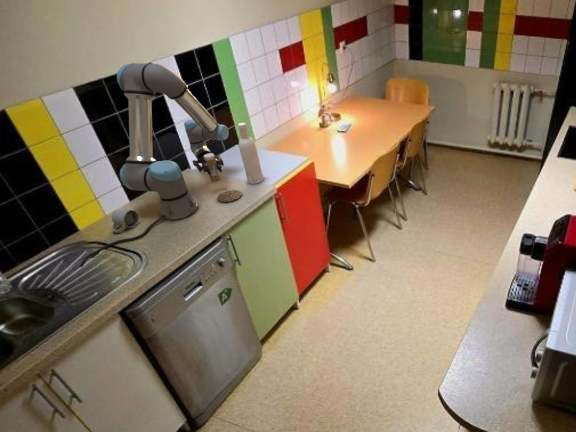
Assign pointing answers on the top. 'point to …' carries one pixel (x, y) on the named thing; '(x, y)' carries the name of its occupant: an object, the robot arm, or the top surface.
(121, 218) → the ceramic mug
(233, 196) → the disc
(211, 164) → the sprinkles bottle
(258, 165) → the bottle
